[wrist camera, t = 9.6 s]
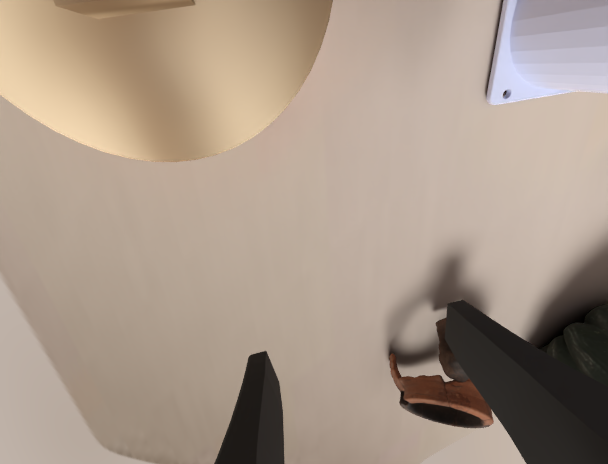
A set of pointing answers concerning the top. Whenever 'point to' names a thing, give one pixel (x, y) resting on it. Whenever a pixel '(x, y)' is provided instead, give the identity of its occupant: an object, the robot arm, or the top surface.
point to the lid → (158, 69)
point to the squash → (585, 345)
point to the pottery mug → (443, 392)
